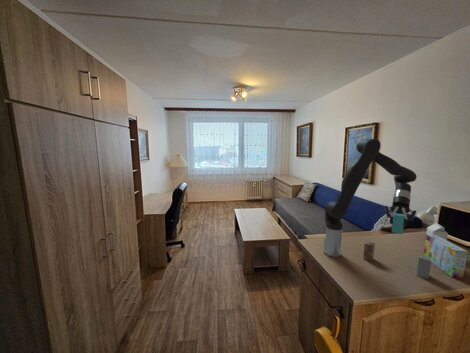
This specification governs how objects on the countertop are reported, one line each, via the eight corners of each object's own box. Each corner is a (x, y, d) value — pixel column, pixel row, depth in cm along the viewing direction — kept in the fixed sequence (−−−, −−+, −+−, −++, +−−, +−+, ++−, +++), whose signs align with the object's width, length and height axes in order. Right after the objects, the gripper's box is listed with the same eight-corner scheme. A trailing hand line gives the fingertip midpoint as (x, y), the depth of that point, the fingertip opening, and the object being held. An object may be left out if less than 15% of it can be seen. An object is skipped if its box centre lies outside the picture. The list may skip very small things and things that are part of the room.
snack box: (464, 279, 102) (469, 251, 100) (451, 277, 103) (455, 250, 101) (432, 257, 122) (435, 234, 120) (422, 256, 123) (425, 233, 121)
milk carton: (429, 253, 126) (433, 225, 124) (424, 248, 133) (427, 221, 131) (444, 256, 124) (448, 226, 121) (438, 250, 130) (442, 222, 128)
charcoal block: (416, 275, 104) (418, 257, 103) (416, 271, 108) (418, 254, 106) (428, 279, 101) (431, 260, 100) (428, 275, 105) (430, 257, 103)
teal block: (391, 232, 110) (393, 214, 109) (392, 229, 113) (394, 212, 112) (402, 234, 107) (404, 216, 106) (402, 231, 110) (404, 214, 109)
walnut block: (363, 258, 120) (364, 243, 119) (364, 256, 124) (366, 240, 122) (372, 261, 117) (373, 245, 116) (373, 258, 121) (374, 243, 119)
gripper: (386, 193, 118) (381, 218, 110) (418, 197, 108) (416, 225, 101) (386, 200, 122) (381, 225, 115) (417, 205, 113) (415, 231, 105)
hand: (397, 224), depth 108 cm, fingers closed on teal block, 4 cm apart
